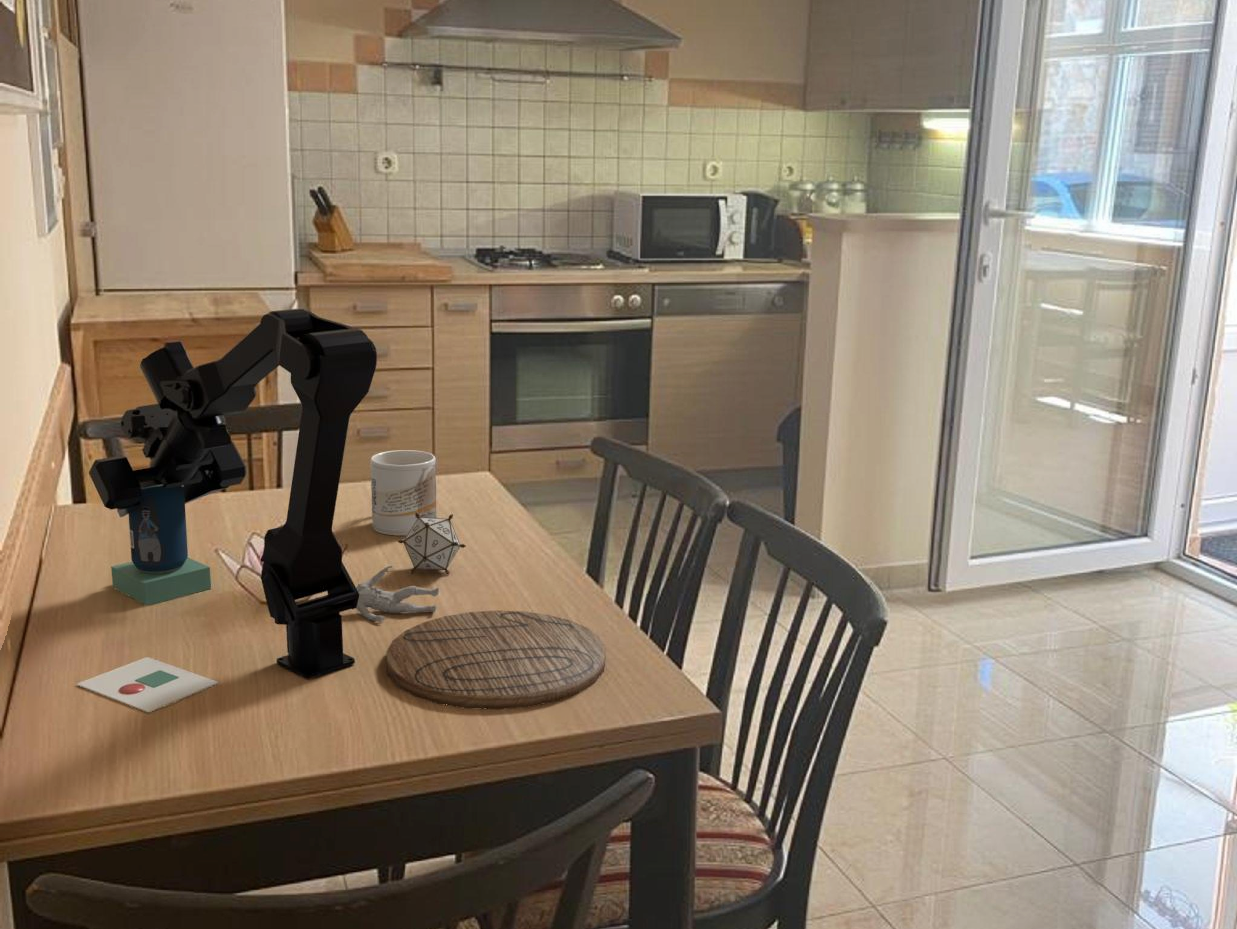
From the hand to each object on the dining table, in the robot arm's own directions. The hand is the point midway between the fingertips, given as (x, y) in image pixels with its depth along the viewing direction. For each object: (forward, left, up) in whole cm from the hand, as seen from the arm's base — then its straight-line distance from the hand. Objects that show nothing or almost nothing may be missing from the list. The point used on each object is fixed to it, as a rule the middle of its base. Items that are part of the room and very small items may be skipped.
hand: (151, 507), depth 163 cm
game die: (-20, -30, -11) cm, 38 cm away
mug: (0, -41, -11) cm, 42 cm away
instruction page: (-28, +16, -11) cm, 34 cm away
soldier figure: (-29, -16, -11) cm, 35 cm away
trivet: (-50, -15, -11) cm, 54 cm away
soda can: (-2, 0, -8) cm, 8 cm away
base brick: (-1, 0, -11) cm, 11 cm away
